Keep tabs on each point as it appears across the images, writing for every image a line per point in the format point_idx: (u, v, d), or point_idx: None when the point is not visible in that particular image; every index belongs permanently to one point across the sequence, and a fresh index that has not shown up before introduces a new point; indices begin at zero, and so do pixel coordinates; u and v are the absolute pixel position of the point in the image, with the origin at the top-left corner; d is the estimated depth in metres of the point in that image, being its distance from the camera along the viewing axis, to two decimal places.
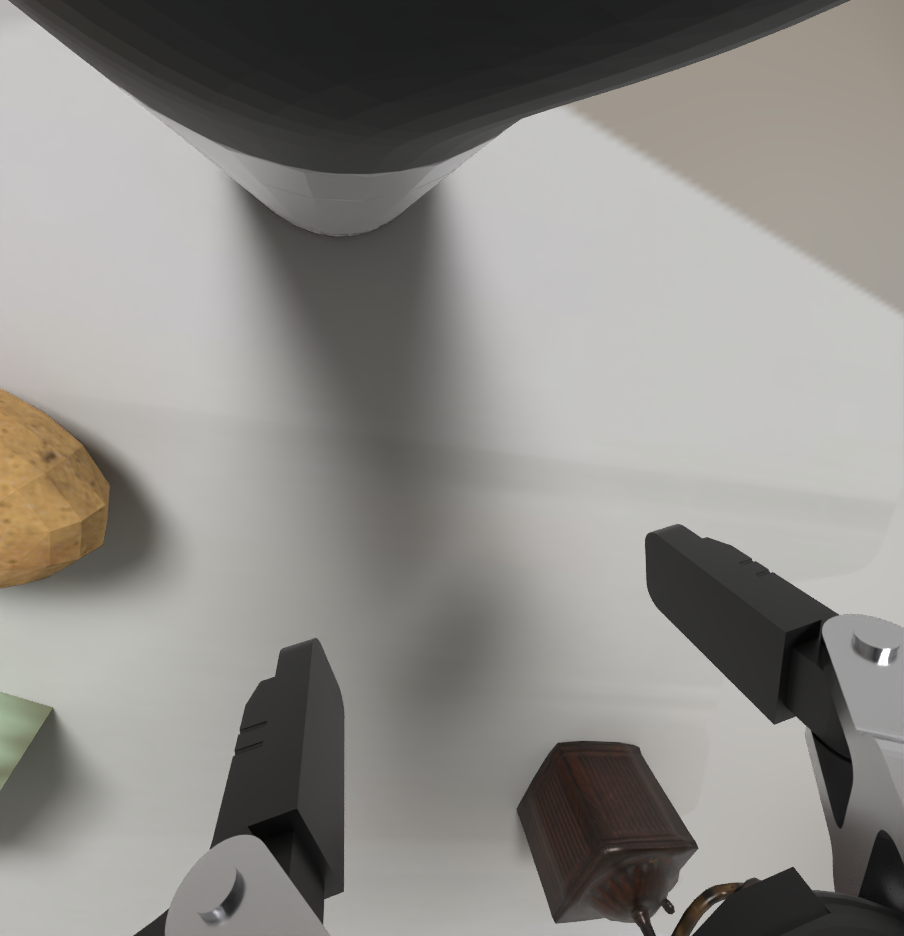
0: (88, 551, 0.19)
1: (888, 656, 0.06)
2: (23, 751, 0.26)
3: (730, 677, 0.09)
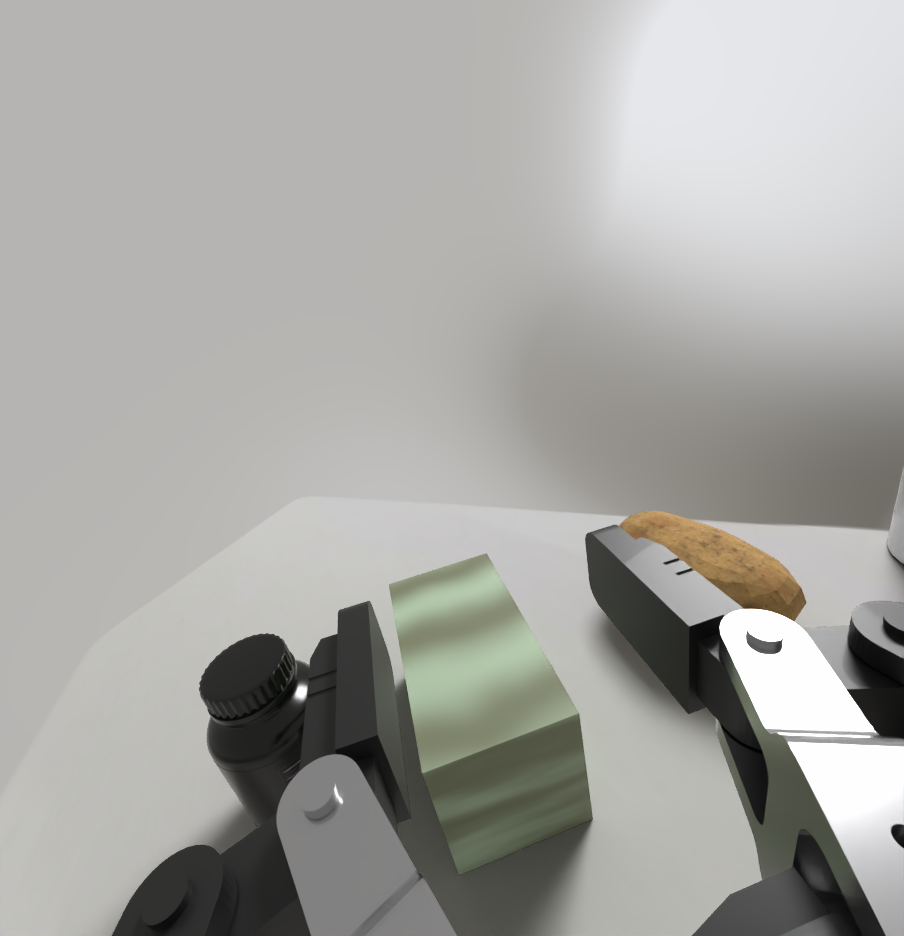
0: (791, 610, 0.29)
1: (772, 648, 0.07)
2: None
3: (654, 669, 0.09)
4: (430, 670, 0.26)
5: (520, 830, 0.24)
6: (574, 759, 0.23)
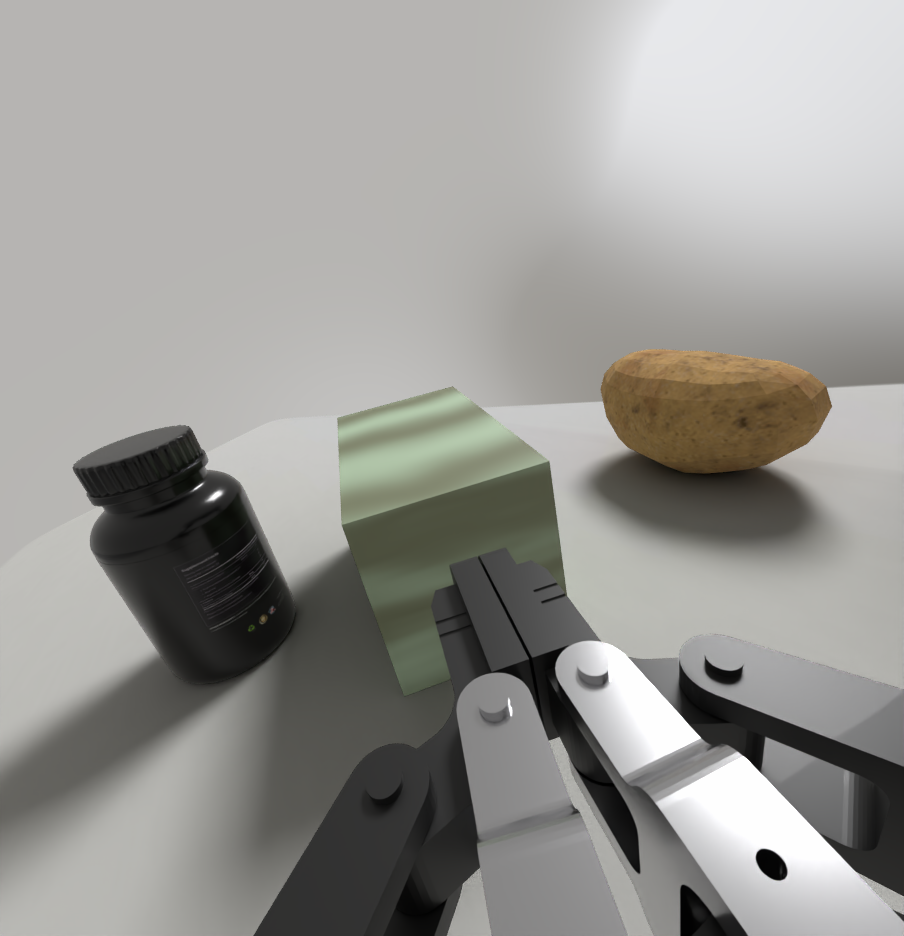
0: (814, 406, 0.24)
1: (594, 682, 0.07)
2: (564, 582, 0.19)
3: None
4: (370, 459, 0.21)
5: None
6: (545, 535, 0.18)
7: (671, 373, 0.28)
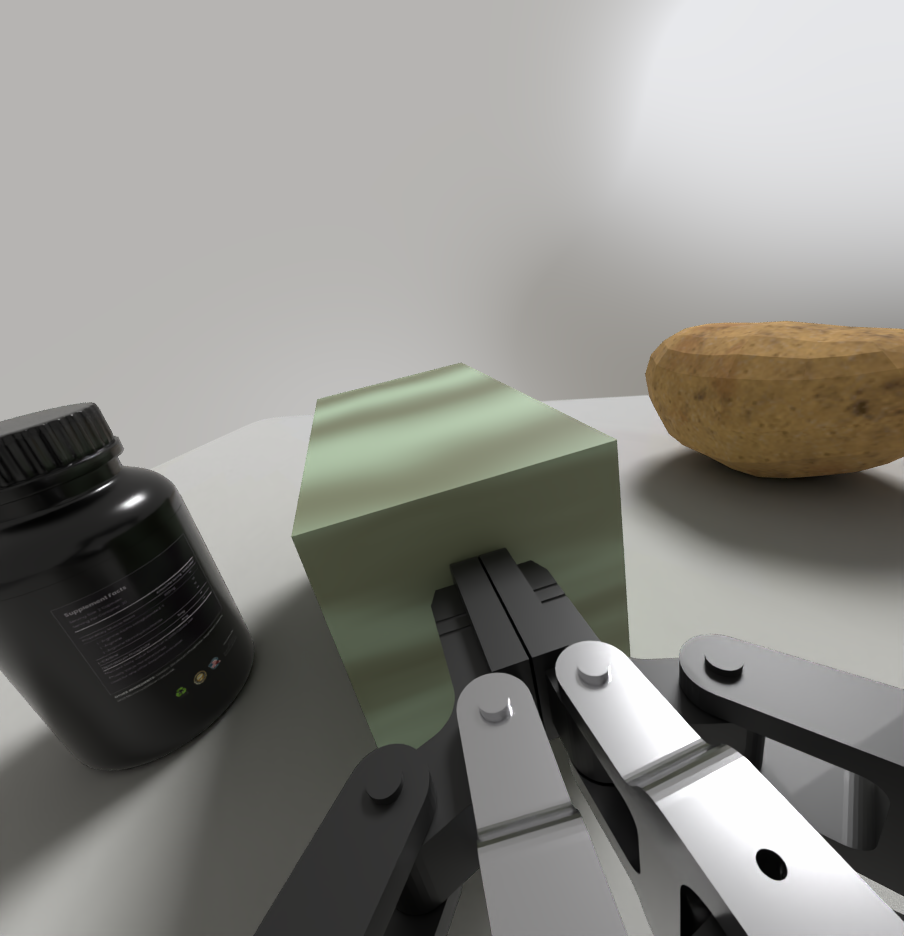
0: None
1: (595, 682, 0.07)
2: (627, 620, 0.13)
3: None
4: (350, 444, 0.15)
5: None
6: (604, 553, 0.12)
7: (751, 347, 0.21)
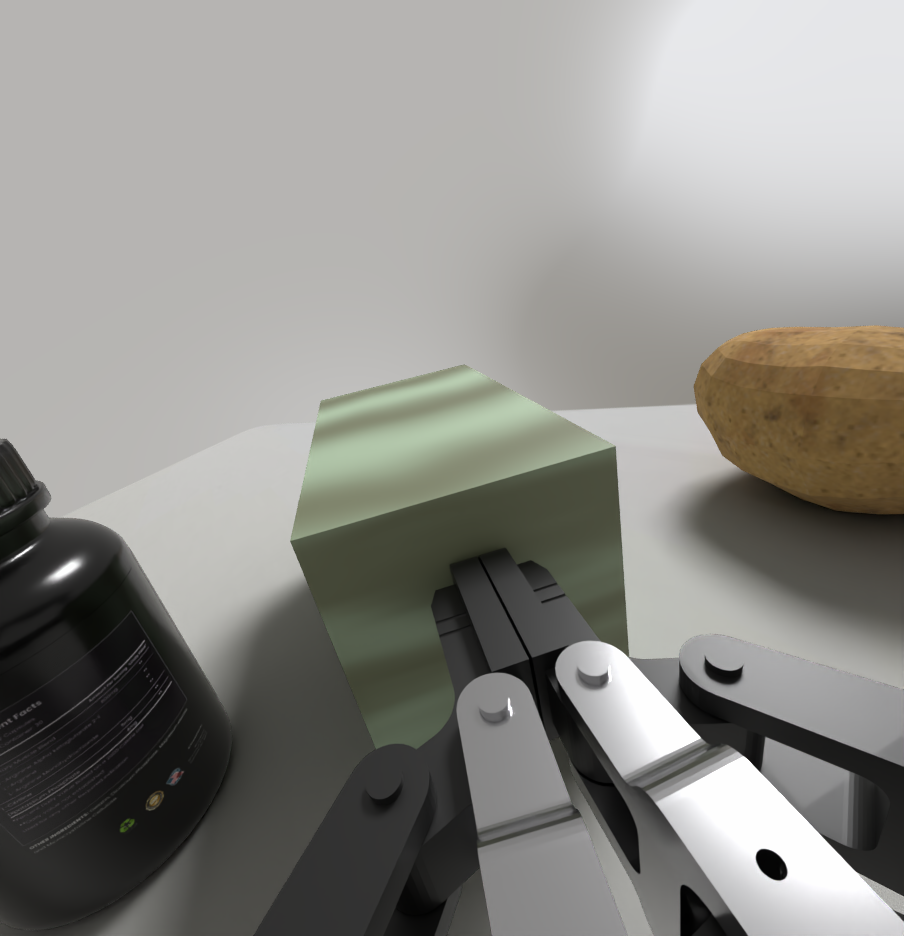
0: None
1: (594, 682, 0.07)
2: (625, 626, 0.13)
3: None
4: (351, 447, 0.15)
5: None
6: (603, 558, 0.12)
7: (841, 357, 0.17)
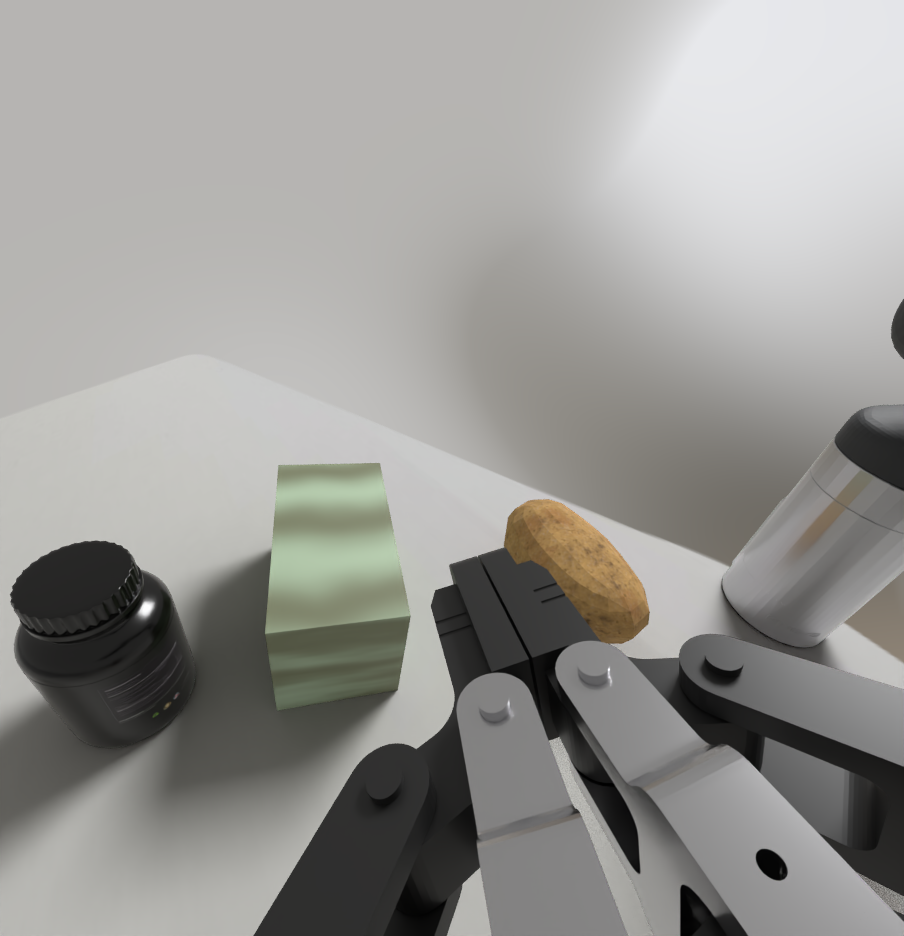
0: (634, 629, 0.32)
1: (595, 682, 0.07)
2: None
3: None
4: (296, 553, 0.29)
5: (337, 688, 0.29)
6: (396, 646, 0.28)
7: (558, 555, 0.34)
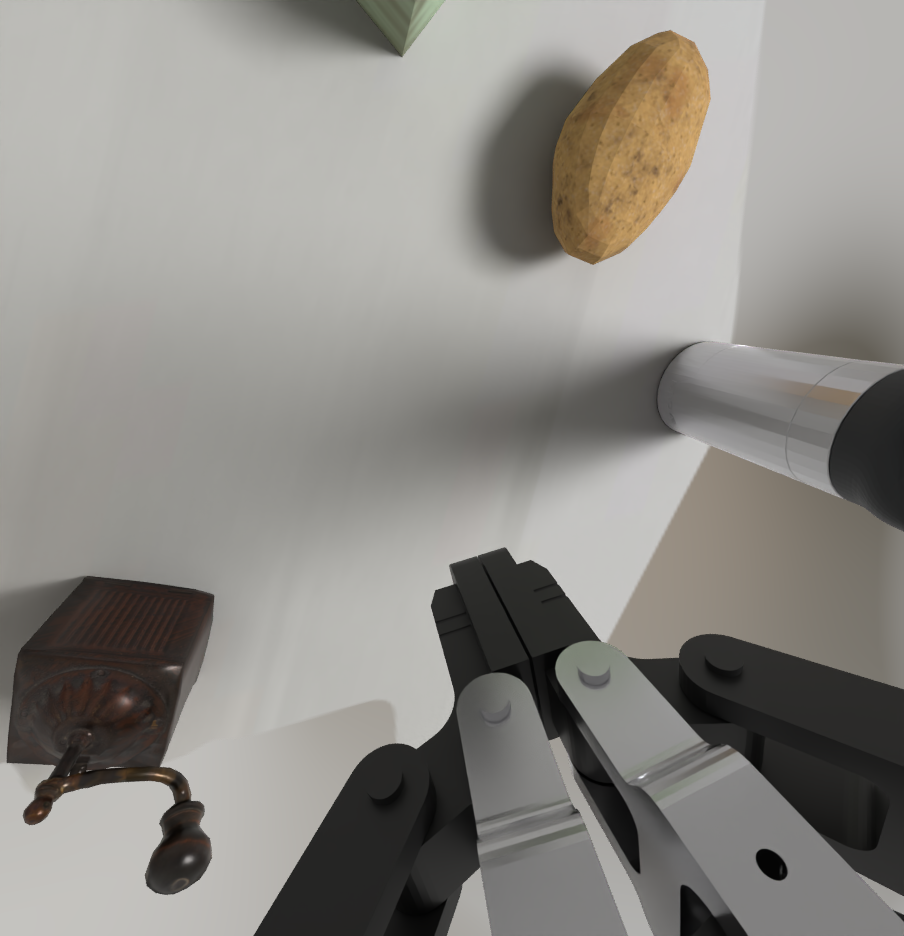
0: (575, 250, 0.32)
1: (594, 682, 0.07)
2: (408, 32, 0.28)
3: None
4: None
5: None
6: None
7: (615, 123, 0.28)
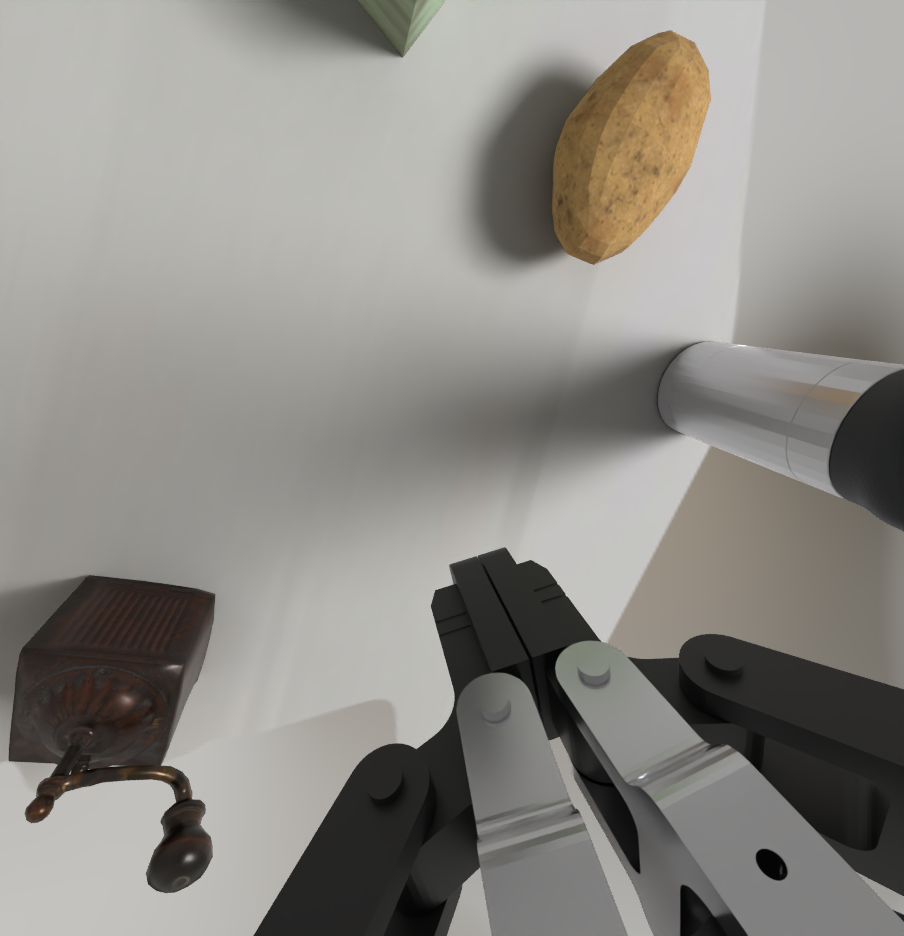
0: (575, 250, 0.32)
1: (595, 682, 0.07)
2: (409, 33, 0.28)
3: None
4: None
5: None
6: None
7: (615, 124, 0.28)
